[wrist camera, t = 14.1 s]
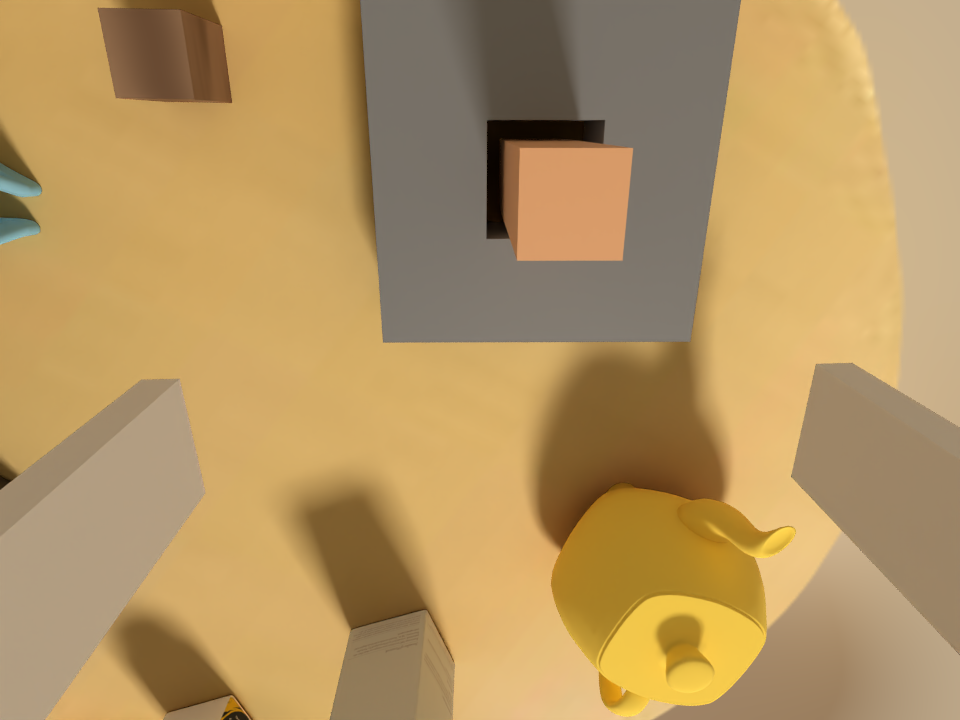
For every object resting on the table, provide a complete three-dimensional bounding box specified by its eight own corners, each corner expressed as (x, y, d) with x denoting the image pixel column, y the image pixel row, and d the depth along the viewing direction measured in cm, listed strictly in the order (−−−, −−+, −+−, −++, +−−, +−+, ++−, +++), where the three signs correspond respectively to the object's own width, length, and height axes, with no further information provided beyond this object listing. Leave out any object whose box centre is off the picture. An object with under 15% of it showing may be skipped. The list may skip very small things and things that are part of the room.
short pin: (164, 101, 34) (116, 97, 30) (150, 24, 33) (97, 8, 28) (232, 102, 34) (194, 99, 30) (221, 25, 33) (180, 9, 28)
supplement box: (348, 627, 50) (309, 781, 38) (428, 606, 49) (414, 757, 37) (380, 685, 53) (354, 845, 41) (457, 665, 52) (452, 823, 40)
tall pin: (499, 206, 37) (517, 260, 22) (499, 138, 35) (519, 147, 20) (561, 206, 37) (622, 260, 22) (565, 138, 35) (633, 147, 20)
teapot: (514, 587, 48) (527, 736, 37) (632, 391, 42) (696, 496, 30) (655, 636, 51) (710, 791, 39) (789, 456, 44) (905, 579, 32)
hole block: (395, 311, 39) (383, 342, 34) (378, 5, 32) (358, -21, 27) (659, 311, 39) (690, 341, 34) (697, 5, 32) (743, -19, 27)
